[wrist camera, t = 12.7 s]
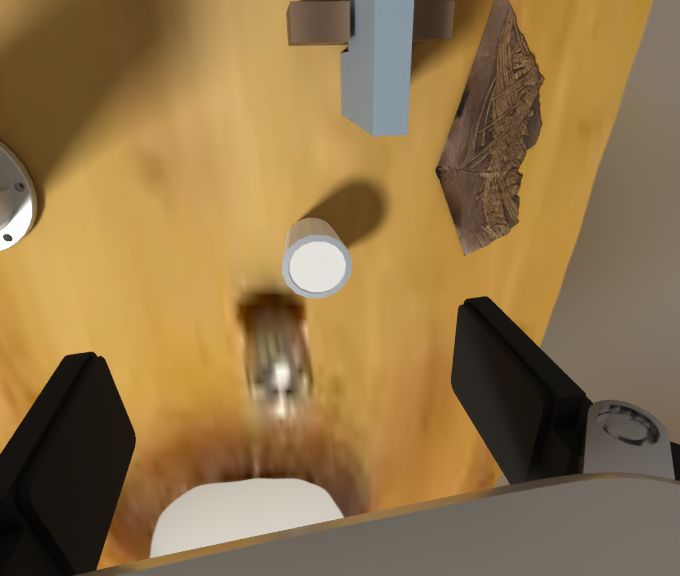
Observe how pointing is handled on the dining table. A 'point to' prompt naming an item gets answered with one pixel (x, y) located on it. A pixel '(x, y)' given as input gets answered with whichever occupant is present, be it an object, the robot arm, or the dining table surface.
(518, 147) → the wooden fragment
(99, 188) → the dining table surface
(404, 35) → the blue-grey notched panel
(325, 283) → the white topped beige cylinder
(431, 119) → the dining table surface
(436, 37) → the wood grain block
